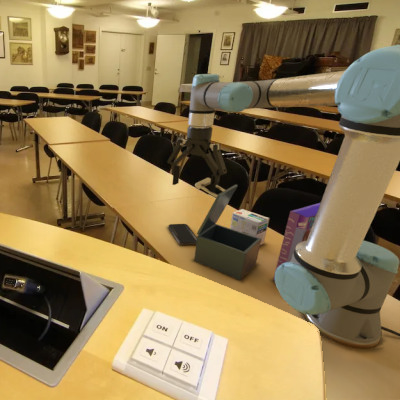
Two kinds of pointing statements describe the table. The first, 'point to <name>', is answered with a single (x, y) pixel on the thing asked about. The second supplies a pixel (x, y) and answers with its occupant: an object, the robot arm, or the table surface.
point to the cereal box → (296, 231)
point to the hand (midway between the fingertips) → (192, 188)
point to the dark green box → (227, 250)
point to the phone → (183, 234)
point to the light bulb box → (250, 224)
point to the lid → (218, 204)
